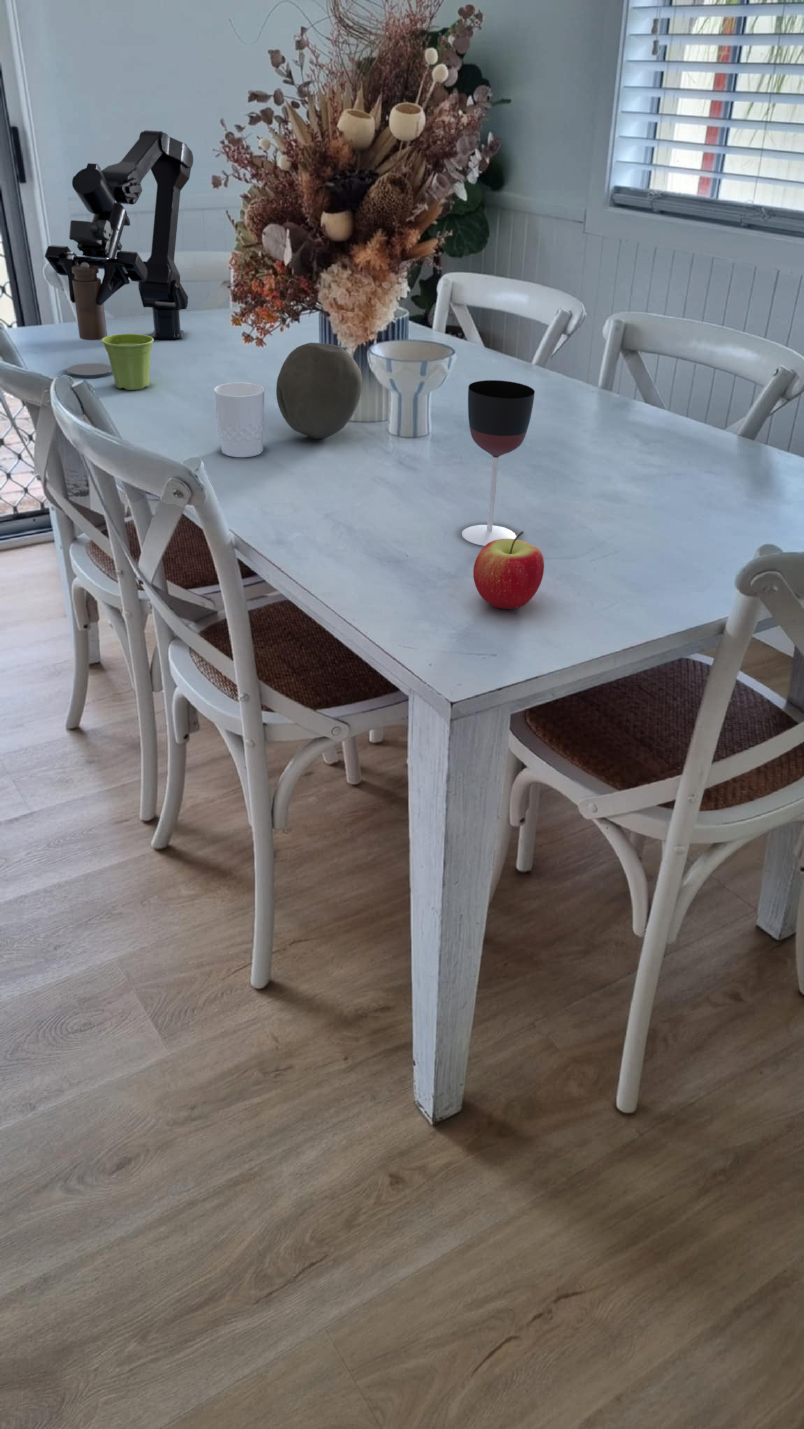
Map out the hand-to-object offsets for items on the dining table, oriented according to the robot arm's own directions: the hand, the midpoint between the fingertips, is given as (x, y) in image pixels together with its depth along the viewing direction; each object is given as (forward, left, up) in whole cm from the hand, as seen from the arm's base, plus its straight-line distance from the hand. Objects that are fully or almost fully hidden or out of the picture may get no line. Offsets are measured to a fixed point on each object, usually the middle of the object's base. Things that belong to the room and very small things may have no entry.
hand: (85, 302), depth 200 cm
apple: (+103, +61, -14) cm, 121 cm away
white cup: (+46, +29, -14) cm, 56 cm away
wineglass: (+82, +63, -14) cm, 105 cm away
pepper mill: (-1, 0, -7) cm, 7 cm away
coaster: (-2, -1, -13) cm, 14 cm away
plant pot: (+8, +8, -14) cm, 18 cm away
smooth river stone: (+38, +42, -14) cm, 58 cm away
